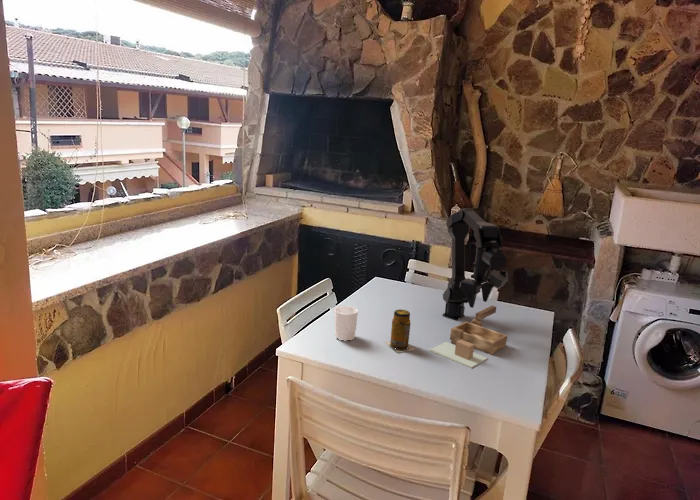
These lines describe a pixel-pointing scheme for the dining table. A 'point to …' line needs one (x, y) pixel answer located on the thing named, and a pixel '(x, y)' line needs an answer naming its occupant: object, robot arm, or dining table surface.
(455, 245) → the robot arm
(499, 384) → the dining table surface
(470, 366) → the lid
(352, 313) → the white cup
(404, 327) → the yellow can
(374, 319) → the dining table surface
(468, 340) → the brown shallow open box
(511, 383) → the dining table surface
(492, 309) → the brown wooden bar
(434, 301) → the dining table surface
